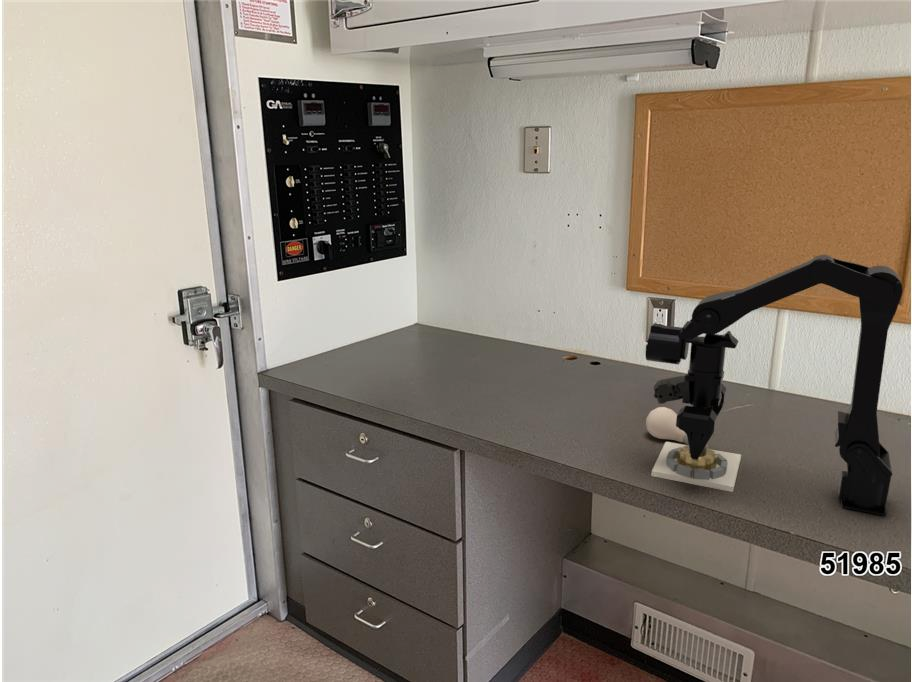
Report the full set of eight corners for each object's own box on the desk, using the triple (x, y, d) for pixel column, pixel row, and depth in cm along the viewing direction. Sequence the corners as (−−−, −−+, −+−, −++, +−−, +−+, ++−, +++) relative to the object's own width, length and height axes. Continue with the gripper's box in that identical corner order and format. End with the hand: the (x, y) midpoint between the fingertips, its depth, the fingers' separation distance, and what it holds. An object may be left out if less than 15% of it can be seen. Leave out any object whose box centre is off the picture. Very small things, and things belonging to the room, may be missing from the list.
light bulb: (709, 422, 141) (660, 395, 147) (694, 438, 137) (644, 410, 143) (700, 446, 145) (652, 419, 151) (685, 462, 141) (636, 434, 147)
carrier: (740, 459, 136) (742, 440, 135) (733, 492, 124) (735, 471, 123) (665, 446, 142) (667, 427, 141) (651, 475, 130) (652, 455, 129)
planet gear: (717, 461, 133) (721, 429, 131) (713, 477, 127) (716, 443, 125) (680, 455, 136) (683, 423, 134) (674, 470, 130) (677, 436, 128)
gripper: (668, 347, 137) (662, 422, 142) (649, 377, 121) (642, 461, 126) (730, 355, 132) (721, 432, 137) (718, 387, 116) (709, 473, 121)
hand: (698, 448), depth 130 cm, fingers open, 9 cm apart
